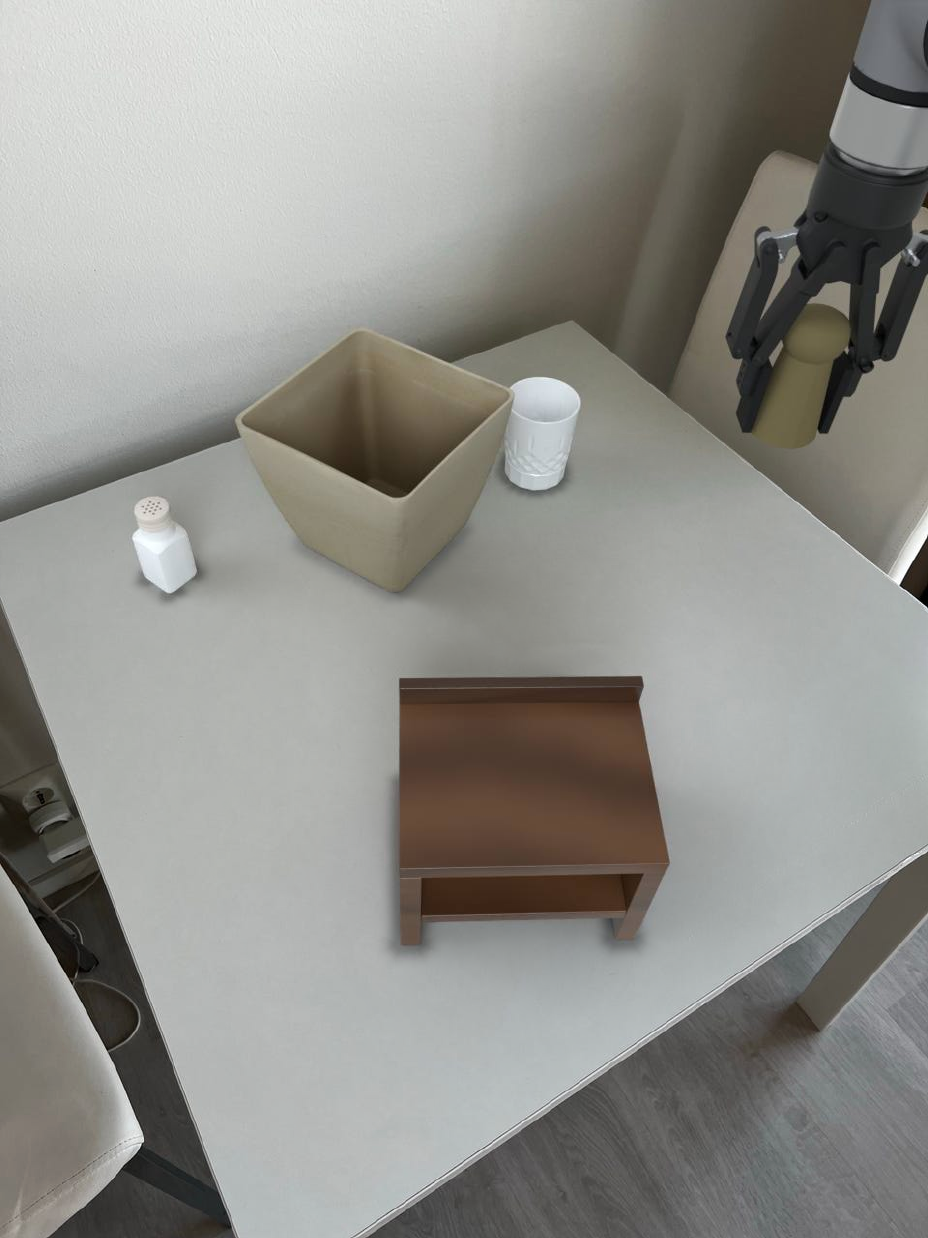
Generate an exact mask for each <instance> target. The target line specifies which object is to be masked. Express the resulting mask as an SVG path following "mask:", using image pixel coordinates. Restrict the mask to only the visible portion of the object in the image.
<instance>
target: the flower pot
mask: <svg viewBox="0 0 928 1238" xmlns="http://www.w3.org/2000/svg"><path fill="white" fill-rule="evenodd" d="M514 397H515V393H514V392H513V390H512V389H510V387H508V386H505V385H503V384H500V383H499V382H496V381H493V380H491V379H488V378H485V377H483V376H481V375H478V374H476V373H474V372H472V371H469V370H466V369H465V368H462V367H459V366H457V365H454V364H452V363H450V362H448V361H446V360H443V359H440V358H438V357H436V356H434V355H431V354H430V353H426V352H424V351H422V350H419V349H417V348H415V347H413V346H410V345H408V344H406V343H404V342H401V341H398V340H397V339H394V338H393V337H390V336H387V335H385V334H382V333H380V332H377V331H376V330H374V329H371V328H369V327H363V326H362V327H361V326H359V327H355V328H353V329H351V330H350V331H349V332H347V333H346V334H345V335H343V336H342V337H340V338H339V339H338V340H337V341H335V342H334V343H332V344H331V345H330V346H328V347H327V348H326V349H324V350H323V351H322V352H320V353H319V354H318V355H316V356H315V357H314V358H312V359H311V360H310V361H308V362H307V363H306V364H304V365H303V366H301V367H300V368H299V369H298V370H296V371H295V372H294V373H292V374H291V375H289V376H288V377H287V378H285V379H284V380H283V381H281V382H280V383H279V384H277V385H276V386H275V387H273V388H271V390H269V391H268V392H267V393H264V395H263V396H262V397H259V399H258V400H256V401H255V402H254V403H252V404H251V405H249V406H248V407H247V408H246V409H244V410H242V411H241V412H240V413H239V414H237V416H236V417H235V420H234V421H235V422H234V423H235V426H236V428H237V429H238V433H239V436H240V438H241V441H242V443H243V446H244V448H245V450H246V451H247V452H246V453H247V455H248V456H249V459H250V461H251V463H252V465H253V467H254V469H255V471H256V474H257V475H258V477H259V478H260V480H261V482H262V484H263V486H264V488H265V489H266V491H267V494H268V496H270V498H271V500H272V501H273V503H274V505H275V506H276V508H277V509H278V511H279V512H280V514H281V515H282V517H283V519H284V520H285V521H286V523H287V524H288V526H289V527H290V529H291V530H292V531H293V533H294V534H295V535H296V537H297V538H298V539H299V540H300V542H301V543H302V545H303V546H304V547H306V548H308V549H310V550H312V551H313V552H316V553H317V554H319V555H321V556H323V557H325V558H326V559H328V560H330V561H332V562H334V563H336V564H337V565H339V566H341V567H343V568H345V569H347V570H348V571H350V572H353V573H354V574H355V575H358V576H360V577H362V579H365V580H367V581H369V582H371V583H373V584H374V585H376V586H379V587H381V588H382V589H384V590H386V591H388V592H391V593H399V592H401V591H403V590H404V589H405V588H406V587H407V586H408V585H409V584H410V583H411V582H412V581H413V580H414V579H415V578H416V577H417V576H418V575H419V574H420V573H421V571H422V570H423V569H424V568H426V567H427V566H428V564H429V563H430V562H432V561H433V559H434V558H436V556H437V555H438V554H439V553H440V552H441V551H443V549H444V548H445V547H446V546H447V545H448V544H449V543H450V542H451V541H452V540H453V538H454V537H455V536H457V535H458V533H460V532H461V530H462V529H463V528H464V527H465V525H466V523H467V522H468V520H469V518H470V516H471V515H472V512H473V510H474V509H475V507H476V505H477V502H478V500H479V499H480V497H481V494H482V492H483V489H484V488H485V485H486V483H487V481H488V479H489V477H490V474H491V471H492V470H493V466H494V464H495V462H496V460H497V459H496V458H497V456H498V454H499V451H500V448H501V445H502V443H503V440H504V437H505V430H506V427H507V423H508V420H509V417H510V413H511V409H512V406H513V401H514Z"/></svg>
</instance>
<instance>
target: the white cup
mask: <svg viewBox="0 0 928 1238" xmlns="http://www.w3.org/2000/svg"><path fill="white" fill-rule="evenodd" d="M509 388H510V389H512V390H513V392H514V393H515V397H514V401H513V406H512V409H511V413H510V417H509V420H508V423H507V427H506V430H505V433H504V437H503V440H504V448H503V449H504V452H505V453H504V459H505V460H504V473H505V475H506V476H507V478H508V480H509V481H510V482H511V483H513V484H514V485H515V486H517V487H519V488H521V489H524V490H529V491H544V490H545V491H547V490H549V489H551V488H553V487H556V486H557V485H559V483H560V482H561V481H562V479H563V478H564V476H565V471H566V466H567V462H568V458H569V456H570V453H571V448H572V444H573V441H574V437H575V433H576V429H577V428H576V427H577V423H578V420H579V419H578V418H579V414H580V409H581V404H582V403H581V402H582V401H581V396H580V395H579V394H578V392H577V391H576V389H575V388H574V387H573V386H571V385H570V384H568V383H567V382H564V381H562V380H559V379H557V378H552V377H546V376H532V377H527V378H524V379H523V378H522V379H520V380H519V381H517V382H515V383H514V384H512V385H511V386H510V387H509Z"/></svg>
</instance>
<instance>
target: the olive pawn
mask: <svg viewBox="0 0 928 1238" xmlns="http://www.w3.org/2000/svg"><path fill="white" fill-rule="evenodd" d="M850 334H851V327H850V323H849V317H848V316H846V314H844V312H842V311H841V310H839V309H837V308H836V307H833V306H832V305H828V304H824V303H817V302H813V303H807V304H806V306H805V307H804V309H803V310H802V311H801V313H800V314H799V316H798V317H797V318H796V320H795V321H794V323H793V324H792V326H791V327H790V328H789V330H788V331H787V333H786V334H785V336H784V337H783V338H782V340H781V343H782V347H781V349H780V351H779V353H778V356H777V357H776V358H775V361H774V362H773V364H772V367H773V371H772V374H771V377H770V379H769V382H768V385H767V388H766V391H765V394H764V397H763V400H762V403H761V406H760V408H759V411H758V414H757V417H756V420H755V423H754V426H753V429H752V432H751V433H750V434H751V435H753V436H754V437H755V438H757V439H758V440H759V441H761V442H763V443H765V444H767V445H769V446H772V447H776V448H779V449H789V450H794V449H799V448H801V449H802V448H804V447H807V446H808V445H811V444H812V443H813V442H814V440H815V439H816V437H817V432H818V429H817V428H818V424H819V420H820V415H821V411H822V407H823V403H824V399H825V394H826V390H827V386H828V382H829V378H830V374H831V369H832V365H833V361H834V359H836V358H837V357H839V356H840V355H841V354H842V352H843V351H846V349H847V348H848V342H849V339H850Z"/></svg>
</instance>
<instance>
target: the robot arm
mask: <svg viewBox="0 0 928 1238" xmlns="http://www.w3.org/2000/svg"><path fill="white" fill-rule="evenodd" d="M842 90H843V91H842V92H841V96H840V99H839V103H838V105H837V108H836V111H835V115H834V118H833V121H832V124H831V127H830V129H829V139H830V142H828V143H827V144H826V145H825V146H824V148H823V150H822V154H821V157H820V159H819V163H818V165H817V169H816V172H815V176H814V178H813V181H812V184H811V187H810V190H809V195H808V199H807V204H806V207H805V209H804V210H803V211H802V213H801V214H800V216H798V217H797V219H796V220H795V221H794V224H793V226H790V227H786V228H785V227H784V228H780V229H778V230H773V231H772V229H771V228H770V227H769V226H767V225H761V226H760V227H758V228H757V229H756V230H755V232H754V235H753V239H754V241H753V243H754V246H753V247H754V248H753V249H754V250H753V251H754V255H753V259H752V262H751V264H750V267H749V270H748V273H747V275H746V278H745V281H744V283H743V287H742V288H741V289H742V290H741V292H740V295H739V297H738V300H737V303H736V305H735V307H734V308H735V309H734V311H733V313H732V317H731V319H730V322H729V326H728V327H727V330H726V333H725V337H724V338H725V341H726V344H727V346H728V349H729V352H730V354H731V358H732V359H734V360H741V359H742V360H741V362H740V366H739V369H738V372H737V376H736V379H735V385H736V388H737V390H738V393H739V396H740V398H739V401H738V404H737V407H736V411H735V415H736V418H737V422H738V424H739V427H740V431H741V433H742V434H752V433H751V432H752V429H753V426H754V423H755V420H756V417H757V414H758V411H759V408H760V406H761V403H762V400H763V397H764V394H765V391H766V388H767V385H768V382H769V379H770V377H771V374H772V371H773V364H772V362H771V360H770V357H771V356H772V354H773V353H774V351H775V350H776V348H777V347H778V346H779V344H780V343H781V342H782V338H783V337H784V336H785V334H786V333H787V331H788V330H789V328H790V327H791V326H792V324H793V323H794V321H795V320H796V318H797V317H798V316H799V314H800V313H801V311H802V310H803V309H804V307H805V306H806V304H809V302H810V301H811V299H812V298H815V297H817V296H818V295H819V294H820V292H821V291H822V289H823V288H824V286H825V285H827V284H829V285H830V284H834V283H838V282H839V283H840V282H842V283H845V284H849V285H850V286H849V308H848V320H849V323H850V327H851V334H850V339H849V342H848V345H847V349H848V351H846V350H844V351H843V352H842V354H841V355H840V356H839V357H837V358H836V359H834V361H833V365H832V369H831V374H830V378H829V382H828V386H827V390H826V394H825V399H824V403H823V407H822V411H821V415H820V420H819V424H818V428H817V432H818V434H819V435H828V434H829V432H830V430H831V427H832V425H833V423H834V420H835V418H836V416H837V413H838V411H839V408H840V406H841V404H842V401H843V399H844V398H851V397H852V396H853V395H854V394H855V392H856V390H857V387H858V386H859V383H860V381H861V379H862V376H863V375H865V374H866V375H867V374H870V373H871V372H872V371H873V370H874V369H875V364H874V362H876V361H879V360H881V361H883V362H886V363H887V362H890V361H892V360H894V359H895V358H896V356H897V354H898V352H899V349H900V346H901V344H902V342H903V338H904V335H905V334H906V330H907V327H908V325H909V322H910V320H911V317H912V315H913V311H914V309H915V307H916V304H917V301H918V299H919V296H920V293H921V291H922V289H923V286H924V283H925V280H926V278H927V276H928V229H922V230H921V231H919V232H918V231H916V230H913V222H914V221H915V219H916V218H917V216H919V213H920V210H921V208H922V206H923V203H924V201H925V198H926V196H927V194H928V0H871V1H870V5H869V8H868V10H867V13H866V17H865V20H864V23H863V27H862V29H861V34H860V36H859V40H858V43H857V46H856V50H855V53H854V56H853V59H852V64H851V67H850V70H849V72H848V74H847V77H846V81H845V83H844V86H843V89H842ZM795 246H796V247H797V249H798V251H799V256H798V257H797V258H796V260H795V261H794V263H793V264H792V266H791V269H790V274H789V276H788V278H787V280H785V283H784V284H783V285H782V287H781V289H780V290H779V291H778V293H777V294H776V296H775V297H774V298H773V300H772V302H771V303H770V305H768V307H767V309H766V311H765V308H766V306H767V302H768V300H769V298H770V295H771V292H772V290H773V287H774V285H775V283H776V279H777V276H778V273H779V266H780V265H781V264H784V263H785V261H786V258H787V256H788V253H789V251H790V250H791V249H792V248H793V247H795ZM898 254H900V259H899V261H898V263H897V266H896V268H895V272H894V275H893V277H892V279H891V282H890V285H889V289H888V291H887V295H886V296H885V300H884V302H883V305H882V309H881V311H880V314H879V317H878V320H877V322H876V325H875V319H876V306H877V295H878V294H879V293H880V282H881V269H882V268H883V267H885V266H886V265H887V264H888V263H889V262H890V261H891V260H893V259H894V258H895V257H896V256H897V255H898ZM764 311H765V312H764Z"/></svg>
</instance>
